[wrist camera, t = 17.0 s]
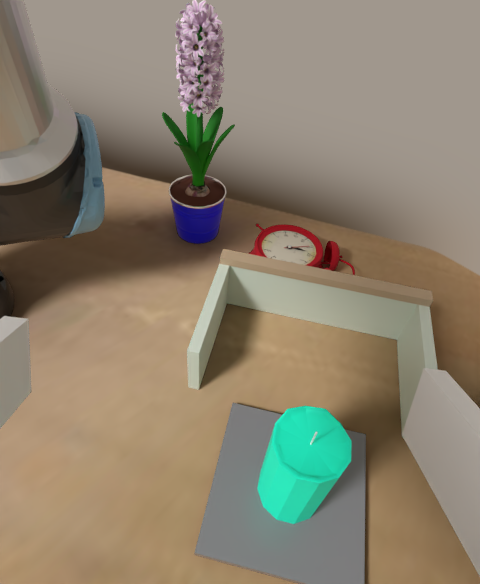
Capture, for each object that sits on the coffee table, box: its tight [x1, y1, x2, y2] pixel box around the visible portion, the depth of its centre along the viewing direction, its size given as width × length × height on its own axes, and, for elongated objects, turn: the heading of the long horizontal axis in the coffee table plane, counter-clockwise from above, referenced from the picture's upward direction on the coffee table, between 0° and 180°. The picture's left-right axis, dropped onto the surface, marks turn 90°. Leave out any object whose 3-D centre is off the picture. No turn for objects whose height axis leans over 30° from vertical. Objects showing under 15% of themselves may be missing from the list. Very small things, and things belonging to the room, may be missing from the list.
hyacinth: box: [162, 0, 235, 244], centre depth 53 cm, size 9×10×30 cm
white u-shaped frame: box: [187, 249, 438, 438], centre depth 46 cm, size 24×14×8 cm, turn 78°
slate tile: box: [195, 403, 366, 584], centre depth 39 cm, size 14×14×1 cm
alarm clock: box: [249, 224, 355, 275], centre depth 58 cm, size 11×6×15 cm
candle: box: [257, 406, 352, 524], centre depth 34 cm, size 6×6×12 cm
